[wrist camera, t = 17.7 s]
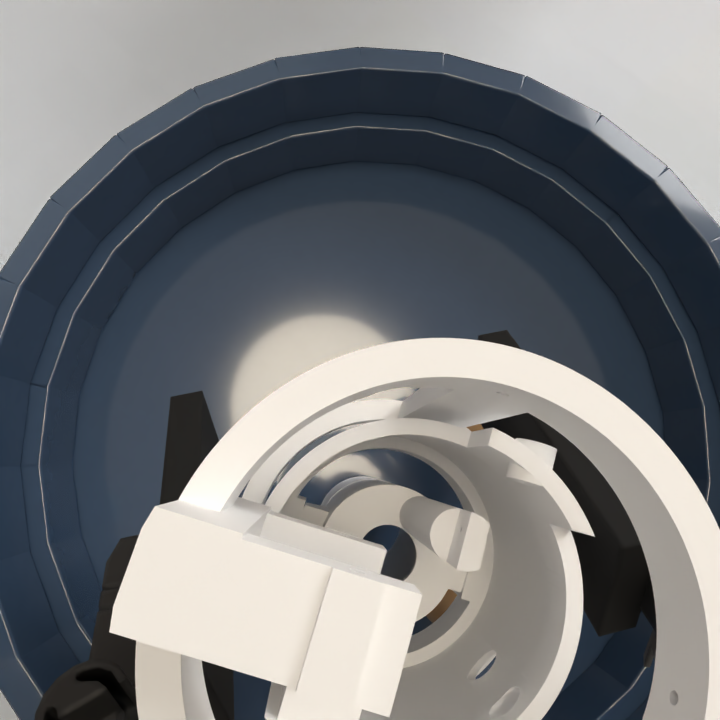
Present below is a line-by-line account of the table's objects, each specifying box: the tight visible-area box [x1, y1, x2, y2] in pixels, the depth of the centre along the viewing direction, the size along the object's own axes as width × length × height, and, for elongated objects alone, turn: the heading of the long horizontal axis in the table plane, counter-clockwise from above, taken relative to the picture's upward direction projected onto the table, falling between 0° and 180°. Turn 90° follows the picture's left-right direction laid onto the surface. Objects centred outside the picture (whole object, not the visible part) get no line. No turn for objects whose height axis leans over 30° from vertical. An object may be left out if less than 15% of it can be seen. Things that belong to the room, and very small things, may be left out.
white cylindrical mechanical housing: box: [109, 338, 720, 720], centre depth 13 cm, size 7×7×15 cm
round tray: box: [0, 47, 720, 720], centre depth 20 cm, size 25×25×6 cm
